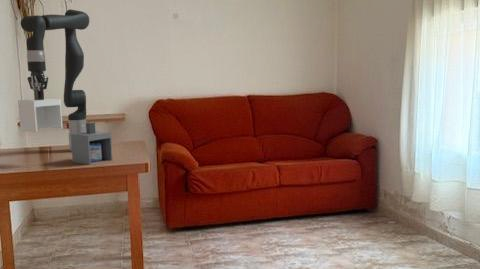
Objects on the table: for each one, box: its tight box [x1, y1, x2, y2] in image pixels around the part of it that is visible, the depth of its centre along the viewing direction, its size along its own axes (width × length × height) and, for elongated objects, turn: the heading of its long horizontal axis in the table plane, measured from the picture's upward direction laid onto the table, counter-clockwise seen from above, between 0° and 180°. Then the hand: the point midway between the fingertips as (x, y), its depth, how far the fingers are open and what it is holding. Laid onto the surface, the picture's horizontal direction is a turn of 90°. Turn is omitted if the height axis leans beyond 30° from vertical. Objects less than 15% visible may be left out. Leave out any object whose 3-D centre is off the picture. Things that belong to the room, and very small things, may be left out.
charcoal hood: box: [71, 121, 114, 166], centre depth 224 cm, size 13×13×19 cm
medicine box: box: [89, 143, 102, 163], centre depth 225 cm, size 8×4×9 cm, turn 117°
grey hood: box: [17, 89, 64, 133], centre depth 215 cm, size 13×13×19 cm
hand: (39, 98), depth 214 cm, fingers closed on grey hood, 3 cm apart
